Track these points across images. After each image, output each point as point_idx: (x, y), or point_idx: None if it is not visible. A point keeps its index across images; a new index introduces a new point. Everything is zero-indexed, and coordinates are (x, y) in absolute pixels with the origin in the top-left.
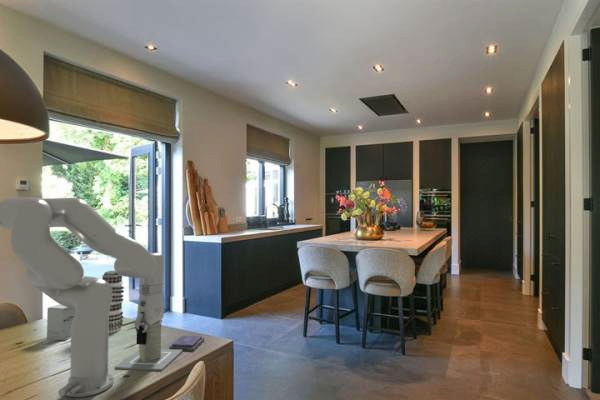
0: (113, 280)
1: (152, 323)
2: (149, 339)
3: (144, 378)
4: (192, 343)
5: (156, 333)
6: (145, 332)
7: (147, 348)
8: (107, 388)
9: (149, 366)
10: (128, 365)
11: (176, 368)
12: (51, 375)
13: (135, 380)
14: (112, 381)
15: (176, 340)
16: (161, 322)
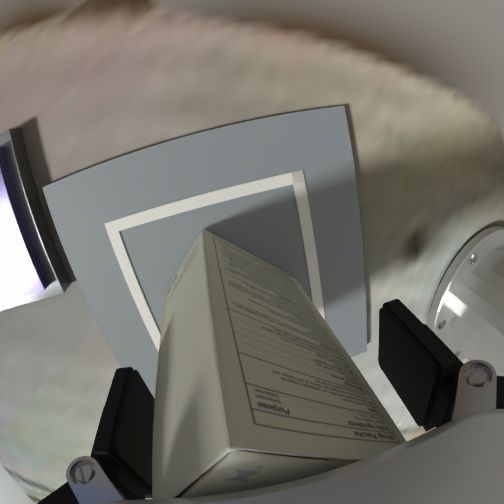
0: None
1: (467, 426)
2: (314, 343)
3: (422, 145)
4: None
5: (266, 350)
6: (454, 366)
7: (302, 308)
8: (495, 226)
9: (334, 202)
10: (345, 315)
11: (282, 43)
12: (407, 431)
13: (441, 174)
14: (484, 238)
15: (1, 302)
16: (79, 460)
